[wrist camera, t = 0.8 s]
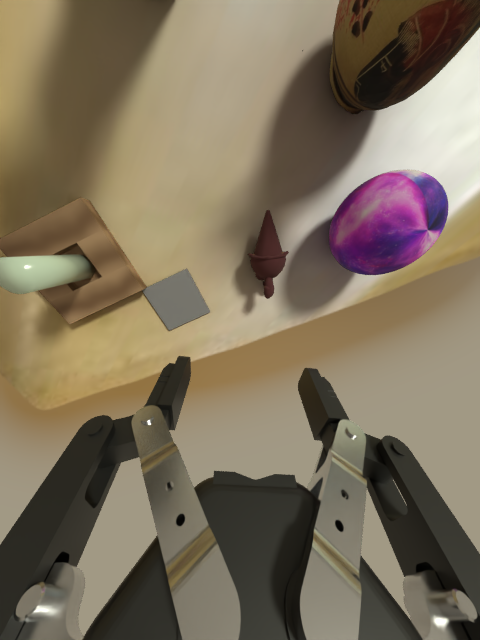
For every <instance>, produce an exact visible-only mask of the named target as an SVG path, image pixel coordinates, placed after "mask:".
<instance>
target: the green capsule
mask: <svg viewBox="0 0 480 640" xmlns="http://www.w3.org/2000/svg"><path fill="white" fill-rule="evenodd" d="M94 273H95V266H94V265H93V264H92V262H91V261H90V260H89V258H88V257H86V256H84V255H81V254H70V255H46V256H23V257H2V258H0V286H1V287H3V288H4V289H6V290H8V291H10V292H12V293H16V294H25V293H29V292H34V291H38V290H42V289H46V288H51V287H55V286H59V285H63V284H68V283H72V282H76V281H80V280H85V279H89V278H91V277H92V276H93V275H94Z"/></svg>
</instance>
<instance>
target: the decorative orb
mask: <svg viewBox="0 0 480 640" xmlns="http://www.w3.org/2000/svg"><path fill="white" fill-rule="evenodd" d="M447 215H448V199H447V195H446V193H445V190H444V189H443V187H442V185H441V184H440V183H439V182H438V181H437V180H436V179H435V178H433V177H432V176H430V175H428V174H426V173H423V172H420V171H416V170H396V171H391V172H387V173H383V174H381V175H378V176H376V177H374V178H372V179H370V180H368V181H366V182H364V183H363V184H361V185H360V186H359V187H357V188H356V189H355V190H354V191H353V192H351V193H350V194H349V195H348V196H347V197H346V199H345V200H344V201H343V202H342V204H341V205H340V206H339V208H338V209H337V211H336V213H335V215H334V217H333V220H332V222H331V226H330V230H329V245H330V249H331V252H332V254H333V256H334V258H335V259H336V260H337V262H338V263H339V264H340V265H342V266H343V267H344V268H346V269H348V270H350V271H352V272H355V273H358V274H364V275H379V274H385V273H389V272H393V271H396V270H398V269H401V268H403V267H405V266H407V265H409V264H411V263H412V262H414V261H415V260H417V259H418V258H420V257H421V256H422V255H423V254H424V253H425V252H427V251H428V250H429V248H430V247H431V246H432V245H433V244H434V243H435V241H436V240H437V239H438V237H439V235H440V234H441V232H442V230H443V228H444V226H445V223H446V220H447Z"/></svg>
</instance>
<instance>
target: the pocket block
mask: <svg viewBox="0 0 480 640" xmlns="http://www.w3.org/2000/svg"><path fill="white" fill-rule="evenodd" d="M0 249H1V250H2V252H3V253H4V254H5V255H6V256H7V257H23V256H46V255H70V254H81V255H84V256H86V257H88V258H89V260H90V261H91V262H92V264H93V265H94V266H95V273H94V275H93V276H92V277H91V278H89V279H85V280H80V281H76V282H72V283H68V284H63V285H59V286H55V287H51V288H46V289H42V290H38V291H39V292H40V293H41V294H42V295H43V296H44V297H45V298H46V299H47V300H48V301H49V302H50V304H51V305H52V306H53V307H54V308H55V309H56V310H57V311H58V312H59V313H60V314H61V315H62V317H63V318H64V319H65V320H66V321H67V322H68V323H69V324H72V323H74V322H76V321H78V320H80V319H82V318H84V317H86V316H88V315H91V314H93V313H95V312H97V311H99V310H101V309H103V308H105V307H107V306H110V305H112V304H114V303H116V302H118V301H120V300H122V299H124V298H126V297H129V296H131V295H133V294H135V293H137V292H139V291H141V290H143V289H145V288H147V287H146V285H145V284H144V282H143V281H142V279H141V278H140V276H139V275H138V273H137V272H136V270H135V269H134V267H133V266H132V264H131V263H130V261H129V260H128V258H127V257H126V255H125V254H124V252H123V251H122V249H121V248H120V246H119V245H118V243H117V242H116V240H115V238H114V237H113V235H112V234H111V232H110V231H109V229H108V228H107V226H106V225H105V223H104V222H103V220H102V219H101V217H100V216H99V214H98V213H97V211H96V210H95V208H94V207H93V205H92V204H91V202H90V201H89V200H86V199H83V198H81V197H80V198H78V199H76V200H74V201H72V202H70V203H69V204H67V205H65V206H63V207H61V208H59V209H57V210H55V211H53V212H51V213H49V214H47V215H45V216H43V217H41V218H39V219H37V220H35V221H33V222H31V223H29V224H28V225H26V226H24V227H22V228H20V229H18V230H16V231H14V232H12V233H10V234H8V235H6V236H4V237H2V238H0Z"/></svg>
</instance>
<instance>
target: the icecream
mask: <svg viewBox="0 0 480 640" xmlns="http://www.w3.org/2000/svg"><path fill="white" fill-rule="evenodd" d="M288 253H289V252H288V251H286V252H282V249H281V246H280V242H279V239H278V236H277V233H276V229H275V226H274V223H273V219H272V216H271V213H270V210H267V211H266V213H265V217H264V220H263V224H262V227H261V231H260V234H259V237H258V241H257V244H256V248H255V251H254V253H253V254H250V253H249V254H248V255H249V257H250V258H251V260H250V261H251V266H252V268H253V270H254V272H255V273H256V278H258V279H259V280H265V282H263V285H264V295H265V297H266V298H267V299H268V298H270V297H271V296H272V295H273V293H274V285H273V279H272V278H274V277H276V276H277V275H278V274H279V273H280V272H281V271H282V269H283V267H284V266H285V261H286V255H287V254H288Z"/></svg>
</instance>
